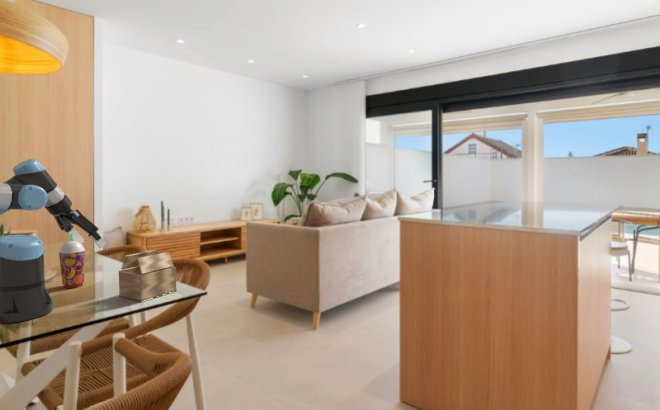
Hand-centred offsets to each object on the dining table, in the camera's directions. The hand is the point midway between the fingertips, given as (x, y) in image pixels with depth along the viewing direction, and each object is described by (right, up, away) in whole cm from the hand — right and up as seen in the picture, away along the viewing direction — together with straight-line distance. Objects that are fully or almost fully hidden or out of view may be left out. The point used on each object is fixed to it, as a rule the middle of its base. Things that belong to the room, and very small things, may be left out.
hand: (92, 244), depth 149 cm
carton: (+26, -17, -9) cm, 32 cm away
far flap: (+21, -7, -7) cm, 23 cm away
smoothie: (-6, -16, -1) cm, 17 cm away
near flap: (+31, -8, -13) cm, 34 cm away
